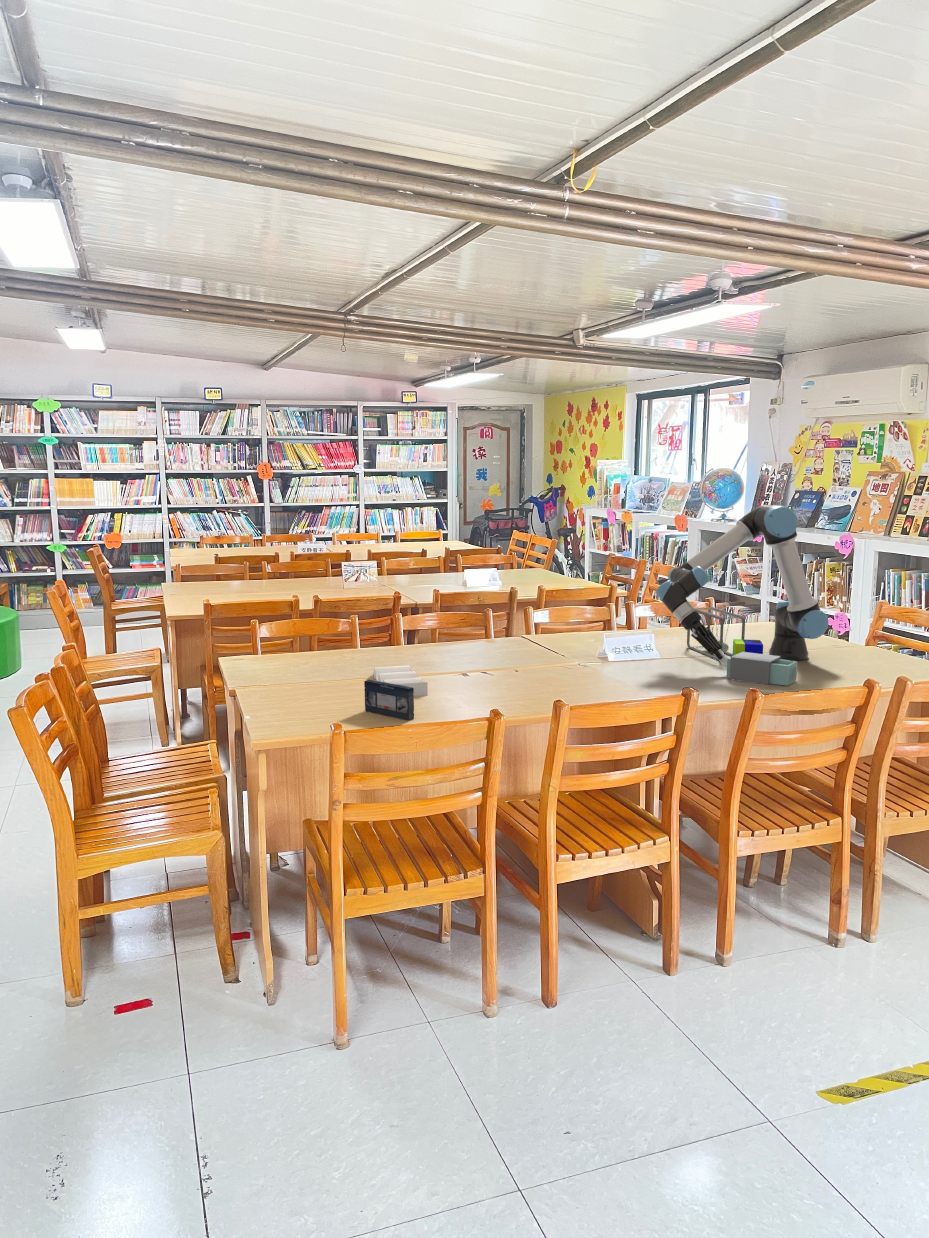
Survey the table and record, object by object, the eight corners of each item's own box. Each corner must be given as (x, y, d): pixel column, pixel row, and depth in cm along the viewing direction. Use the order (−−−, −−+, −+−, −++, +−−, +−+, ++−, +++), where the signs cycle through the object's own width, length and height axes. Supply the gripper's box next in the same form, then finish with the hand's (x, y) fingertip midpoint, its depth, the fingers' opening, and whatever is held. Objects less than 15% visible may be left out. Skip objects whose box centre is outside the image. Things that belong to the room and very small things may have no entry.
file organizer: (407, 674, 329) (407, 661, 328) (427, 697, 296) (427, 682, 295) (372, 676, 326) (372, 663, 325) (389, 699, 292) (388, 684, 292)
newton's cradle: (743, 660, 351) (746, 617, 349) (719, 661, 349) (721, 617, 346) (708, 646, 380) (710, 606, 378) (686, 647, 378) (687, 606, 375)
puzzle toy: (761, 670, 333) (763, 644, 332) (734, 669, 335) (735, 643, 334) (758, 665, 343) (760, 640, 342) (732, 664, 345) (733, 639, 344)
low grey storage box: (729, 679, 319) (730, 657, 318) (741, 673, 329) (742, 651, 327) (768, 684, 311) (769, 661, 309) (779, 678, 320) (780, 656, 319)
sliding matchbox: (726, 677, 321) (727, 658, 320) (736, 672, 329) (737, 654, 327) (787, 685, 308) (788, 666, 307) (796, 680, 316) (797, 661, 314)
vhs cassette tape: (364, 711, 276) (363, 680, 274) (370, 709, 278) (370, 678, 276) (408, 721, 264) (407, 689, 263) (414, 719, 267) (414, 687, 265)
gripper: (687, 620, 339) (727, 668, 332) (673, 624, 329) (714, 674, 322) (701, 608, 335) (742, 656, 328) (687, 612, 325) (729, 662, 318)
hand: (728, 665), depth 325 cm, fingers closed
